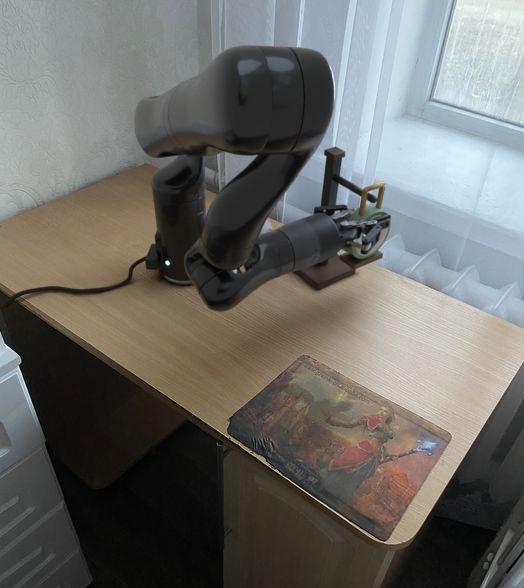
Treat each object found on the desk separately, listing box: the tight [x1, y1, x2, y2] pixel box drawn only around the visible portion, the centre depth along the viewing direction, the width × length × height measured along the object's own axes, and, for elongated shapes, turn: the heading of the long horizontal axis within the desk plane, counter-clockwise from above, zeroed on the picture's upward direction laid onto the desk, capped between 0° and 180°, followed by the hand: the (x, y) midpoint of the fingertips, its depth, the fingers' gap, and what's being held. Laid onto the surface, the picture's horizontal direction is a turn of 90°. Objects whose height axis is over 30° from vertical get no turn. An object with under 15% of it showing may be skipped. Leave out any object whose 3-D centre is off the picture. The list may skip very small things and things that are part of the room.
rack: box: [293, 146, 378, 290], centre depth 98 cm, size 16×10×24 cm, turn 36°
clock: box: [339, 181, 392, 270], centre depth 92 cm, size 9×4×14 cm, turn 126°
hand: (380, 214), depth 93 cm, fingers closed on clock, 3 cm apart
